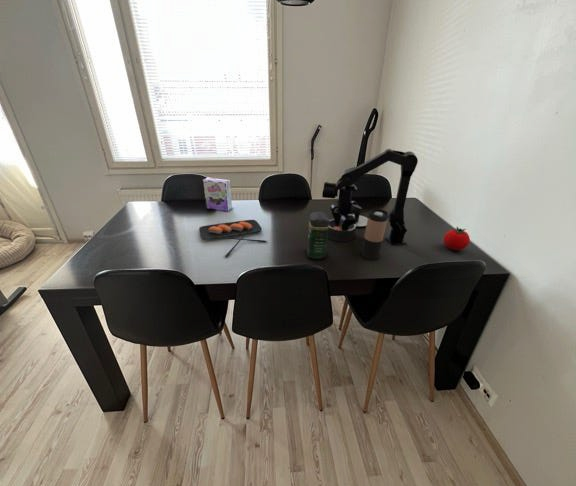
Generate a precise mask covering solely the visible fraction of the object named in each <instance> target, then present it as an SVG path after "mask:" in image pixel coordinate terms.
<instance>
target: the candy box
mask: <svg viewBox="0 0 576 486" xmlns="http://www.w3.org/2000/svg"><path fill="white" fill-rule="evenodd" d="M202 185H203V192H204V200H205V207H206V209H210V210H214V211H219V212H230V211H231V210H232V209H233V202H232V201H233V200H232V187H231V180H230V179H223V178H215V177H210V176H207V177H205V178H204V179H202Z"/></svg>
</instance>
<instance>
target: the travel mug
mask: <svg viewBox="0 0 576 486" xmlns="http://www.w3.org/2000/svg"><path fill="white" fill-rule="evenodd" d="M388 216H389V211H387V210H384V209H380V208H372V209H370V210H369V212H368V216H367V218H368V221H367V226H365V231H364V236H363V242H362V249H361V257H363V258H364V259H365V260H377V259H378V258H379V255H380V251H381V248H382V244H383V241H384V237H385V232H386V227H387V223H388V220H389V219H388Z"/></svg>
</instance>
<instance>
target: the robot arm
mask: <svg viewBox="0 0 576 486" xmlns="http://www.w3.org/2000/svg"><path fill="white" fill-rule="evenodd" d="M387 162H390V163H393V164H395V165H398V166H400V177H399V183H398V188H397V192H396V197H395V202H394V205H393V208H389V212H388V219H387V220H388V223H389V224H390V228H391V229H390V233H389V237H386V240H387V241H388V242H389V243H390V244H391V245H392V246H395V245H397V246H398V245H405V244H406V241H404V238H405V234H406V233H407V232H408V228H407V225H406V221H405V205H406V200H407V196H408V191H409V187H410V182H411V179H412V176H413V174H414V172H415V171H416V168H417V165H418V164H419V163H418V162H419V159H418V157H417V155H416V154H415V152H413V151H406V152H405V151H401V150H394V149H391V148H387V149H385V150H384V151H383V152H381V153H379V154H377V155H376V156H374V157H372V158H370V159H368V160H367V161H365V162H363V163H361V164H360V165H357V166H353V167H350V168H348V169H345V170H344V171H342V173H341V175H340V178H339V179H338V180H337V181H336V183H335V182H329V181H324V183H323V188H322V193H321V198H323V199H324V198H325V199H335V198H337V197H338V199H336V203H332V204H331V205H330V208H329V210H330V211H331V215H332V217H333V219H334V220H335V224H336V226H339V223H341V228H342V230H348V228H349V226H350V225H353V224H356V221H357V219H356V218H355V217H354V216H353V215H354V214H355V213H356V214H357V215H359V214H360V215H361V212H362V209H363V208H362V207H361V206H360V205H358V204H357V202H356V201H355V200H352V197H353V192H357V190H358V187H357V186H356V185H355V183H356V182H357V181H359V179H360V178H361V177H362V176H364V175H367V174H368V173H369V172H371V171H373V170H375V169H377V168H379V167H380V166H382V165H384V164H386V163H387ZM340 219H341V222H340Z"/></svg>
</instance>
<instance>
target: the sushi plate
mask: <svg viewBox="0 0 576 486" xmlns="http://www.w3.org/2000/svg"><path fill="white" fill-rule="evenodd" d="M262 230H263V229H262V227H261V225H260V223H259V222H258V221H257V220H256V219H243V220H237V221H230V222H222V223H215V224H207V225H202V226H199V228H198V231H199V236H200V237H201V239H202V240H215V239H226V240H227V239H228V240H238V241H237V242H236V243H235V244H234V245H233V246H232V248H231V249H230V250H229V251H228V252H227V253H226V254H225V258H228V257H229V255H230V254H231V253H232V252H233V251H234V249H235V248H236V247H237V246H238V244H239V243H240V242H241V241H249V242H260V243H267V240H263V239H249V238H244V237H245V236H246V235H249V234H257V233H260V232H262ZM237 236H242V237H240V238H238V237H237ZM235 237H237V238H235Z"/></svg>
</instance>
